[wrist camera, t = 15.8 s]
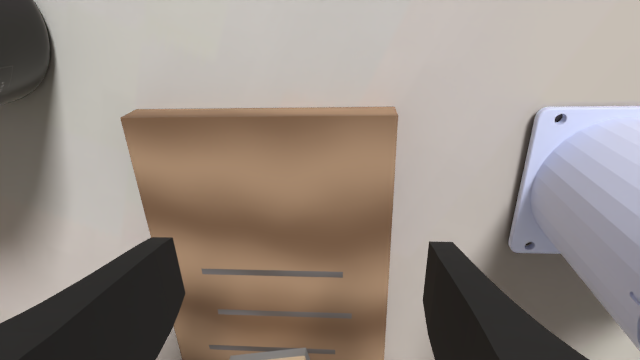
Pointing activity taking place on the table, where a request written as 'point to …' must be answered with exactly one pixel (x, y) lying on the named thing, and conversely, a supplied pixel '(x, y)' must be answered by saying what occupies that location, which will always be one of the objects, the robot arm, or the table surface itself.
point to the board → (272, 224)
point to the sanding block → (275, 355)
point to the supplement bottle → (21, 49)
